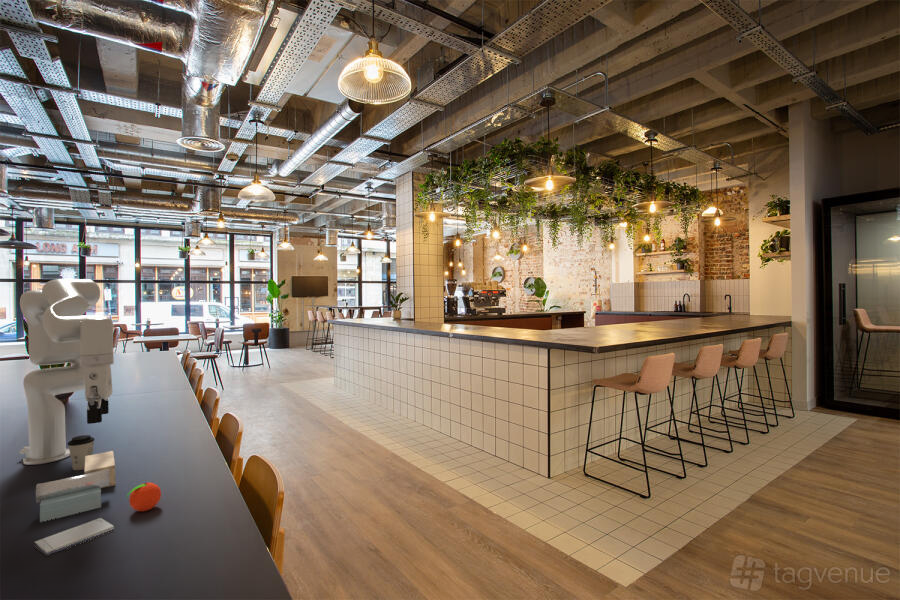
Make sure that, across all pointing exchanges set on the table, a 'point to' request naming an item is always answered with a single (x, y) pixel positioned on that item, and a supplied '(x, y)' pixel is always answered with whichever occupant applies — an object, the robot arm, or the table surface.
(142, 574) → the table surface
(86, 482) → the axle
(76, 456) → the coffee cup
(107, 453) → the beam
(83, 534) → the hard drive
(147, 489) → the clementine
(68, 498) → the v block
